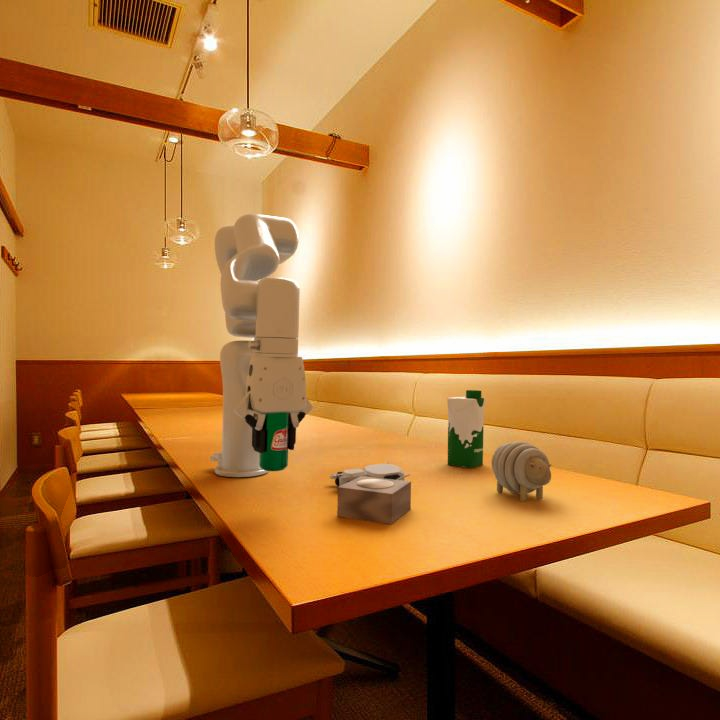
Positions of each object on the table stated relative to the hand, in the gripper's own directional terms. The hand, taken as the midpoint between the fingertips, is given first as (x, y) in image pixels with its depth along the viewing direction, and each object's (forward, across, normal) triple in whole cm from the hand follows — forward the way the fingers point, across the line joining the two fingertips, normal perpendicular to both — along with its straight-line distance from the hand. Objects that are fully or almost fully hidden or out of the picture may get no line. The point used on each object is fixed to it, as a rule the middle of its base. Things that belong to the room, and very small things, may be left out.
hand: (273, 449), depth 90 cm
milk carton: (+12, +62, +12) cm, 64 cm away
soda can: (+4, 0, 0) cm, 4 cm away
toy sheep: (+11, +48, -17) cm, 52 cm away
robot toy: (+12, +24, +4) cm, 27 cm away
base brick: (+11, +15, -11) cm, 21 cm away
